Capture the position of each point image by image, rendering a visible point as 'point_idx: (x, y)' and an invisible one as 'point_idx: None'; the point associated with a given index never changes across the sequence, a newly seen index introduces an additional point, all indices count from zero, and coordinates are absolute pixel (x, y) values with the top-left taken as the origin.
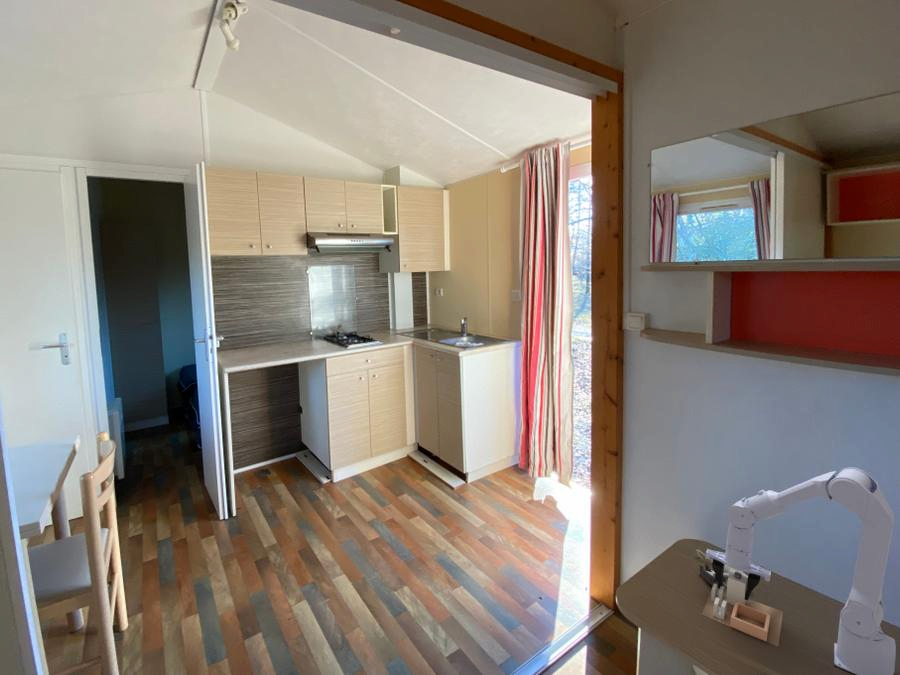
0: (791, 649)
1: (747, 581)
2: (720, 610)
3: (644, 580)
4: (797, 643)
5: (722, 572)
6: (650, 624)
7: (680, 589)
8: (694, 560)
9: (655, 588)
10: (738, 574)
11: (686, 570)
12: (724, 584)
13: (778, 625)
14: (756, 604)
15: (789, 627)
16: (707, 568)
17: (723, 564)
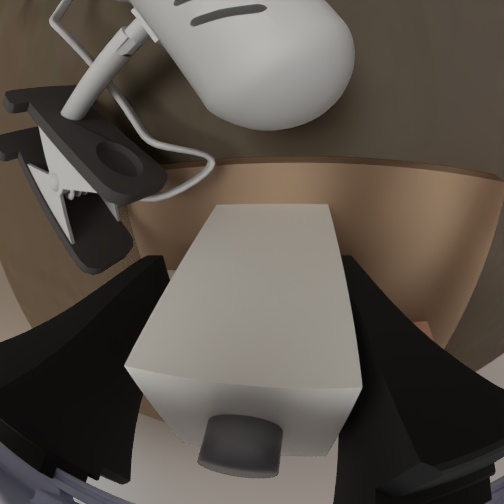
0: (454, 354)
1: (335, 491)
2: None
3: (22, 295)
4: (483, 321)
5: (113, 401)
6: (141, 413)
7: (72, 279)
8: (18, 13)
9: (51, 314)
10: (245, 476)
11: (16, 122)
12: (160, 198)
13: (458, 307)
14: (391, 200)
15: (495, 252)
16: (27, 107)
17: (80, 467)
